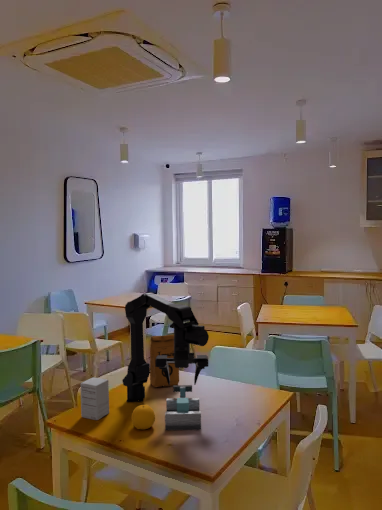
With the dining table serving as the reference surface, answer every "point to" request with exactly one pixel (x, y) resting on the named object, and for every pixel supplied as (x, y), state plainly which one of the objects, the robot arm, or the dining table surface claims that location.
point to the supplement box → (94, 398)
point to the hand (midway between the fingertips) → (182, 384)
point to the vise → (183, 420)
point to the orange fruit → (143, 417)
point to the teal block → (182, 404)
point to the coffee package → (166, 347)
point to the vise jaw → (172, 402)
